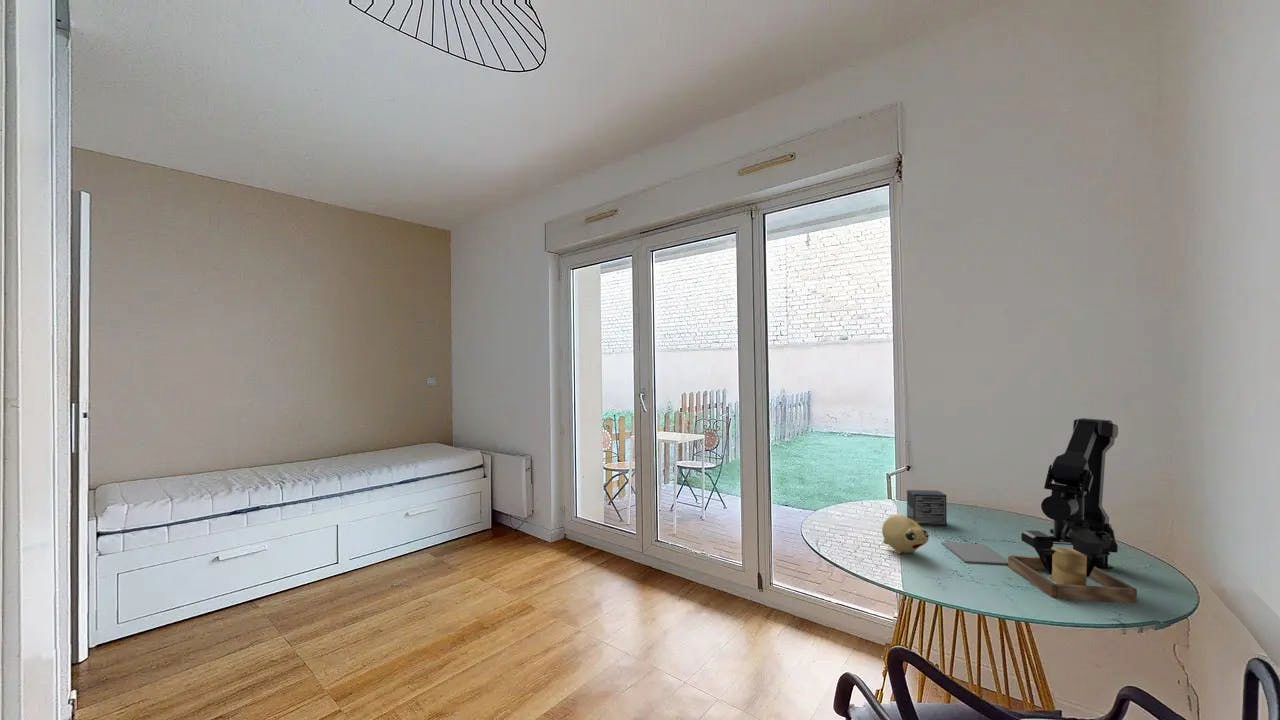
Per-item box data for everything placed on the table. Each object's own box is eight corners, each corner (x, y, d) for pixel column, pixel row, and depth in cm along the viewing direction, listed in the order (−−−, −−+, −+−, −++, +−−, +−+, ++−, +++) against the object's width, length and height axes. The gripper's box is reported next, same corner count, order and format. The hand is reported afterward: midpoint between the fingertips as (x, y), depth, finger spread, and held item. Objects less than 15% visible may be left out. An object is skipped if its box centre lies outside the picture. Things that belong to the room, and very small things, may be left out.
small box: (937, 520, 175) (938, 489, 175) (947, 526, 169) (947, 495, 168) (905, 519, 176) (906, 488, 176) (914, 525, 170) (914, 493, 169)
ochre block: (1071, 579, 129) (1071, 548, 129) (1086, 588, 124) (1086, 556, 124) (1049, 578, 130) (1050, 547, 130) (1063, 587, 125) (1064, 555, 125)
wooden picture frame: (1080, 570, 135) (1080, 558, 135) (1138, 603, 117) (1138, 590, 117) (1007, 566, 137) (1007, 555, 137) (1053, 598, 119) (1053, 585, 119)
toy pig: (907, 563, 138) (907, 524, 138) (874, 547, 150) (875, 511, 150) (935, 559, 141) (936, 521, 141) (901, 543, 153) (902, 508, 153)
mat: (984, 545, 152) (984, 544, 151) (1012, 565, 138) (1012, 563, 138) (941, 543, 153) (941, 542, 153) (965, 562, 139) (965, 560, 139)
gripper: (1050, 521, 120) (1048, 587, 120) (1138, 525, 118) (1136, 592, 118) (1020, 507, 131) (1019, 567, 131) (1100, 510, 129) (1099, 572, 129)
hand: (1067, 575), depth 127 cm, fingers open, 8 cm apart
